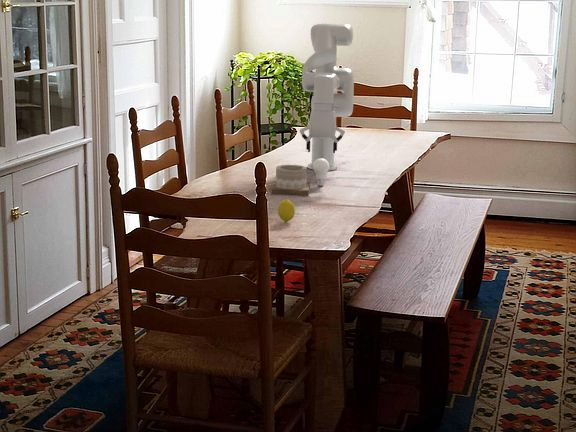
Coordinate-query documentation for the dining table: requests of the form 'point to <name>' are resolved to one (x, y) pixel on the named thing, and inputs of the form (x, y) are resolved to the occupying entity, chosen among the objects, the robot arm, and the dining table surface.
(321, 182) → the lightbulb
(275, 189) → the socket
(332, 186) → the dining table surface
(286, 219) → the lemon
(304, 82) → the robot arm
